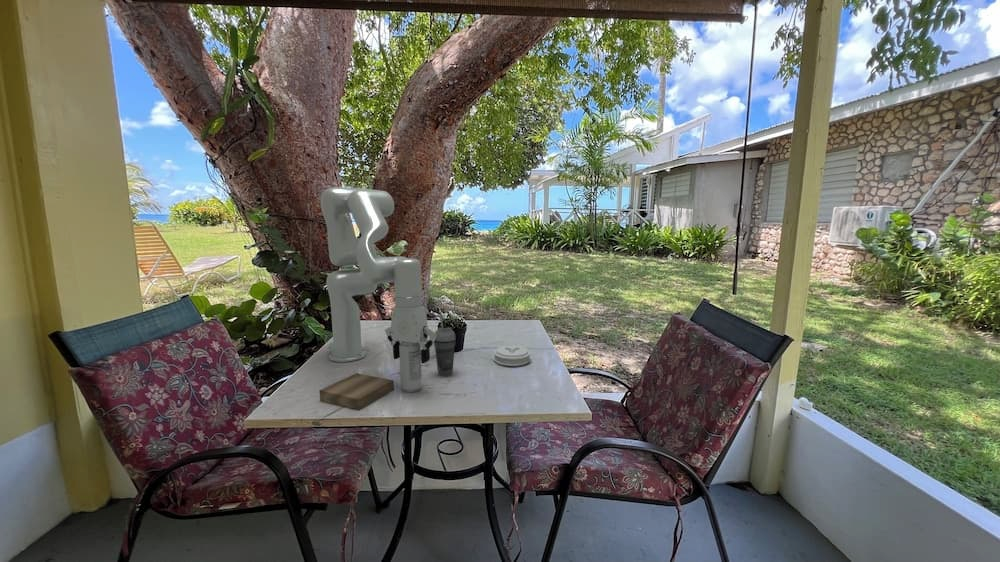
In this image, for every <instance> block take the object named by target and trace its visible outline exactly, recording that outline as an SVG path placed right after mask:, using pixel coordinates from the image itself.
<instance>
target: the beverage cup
mask: <svg viewBox="0 0 1000 562" xmlns="http://www.w3.org/2000/svg"><path fill="white" fill-rule="evenodd" d="M439 317H440V325H441V327H438V329H437V330H436V331H435V332H434V333H436V334H437V337H436V339H435V342H434V343H433V345H434V350H435V351H434V352H435V357H436V358H435V359H436V360H435V361H436V366H437V367H436V368H437V373H438V376H439V377H442V376H443V378H445V377H450V376H453V371H454V359H455V355H454V354H455V347H456V341H457V338H456V337H457V336H456V333H455V331H454V330H453V329H452V328H451V327H449V326H444V324H443V315H442V313H441V312H440V313H439Z"/></svg>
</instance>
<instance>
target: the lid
mask: <svg viewBox="0 0 1000 562" xmlns="http://www.w3.org/2000/svg"><path fill="white" fill-rule="evenodd" d="M493 354H494V358H493V360H494V362H495V363H496V364H498V365H502V366H509V367H511V366H512V367H513V366H514V367H515V366H524V365H526V364H528V363H530V361H531V358H530V355H531V351H530V350H529V349H528V347H527V348H526V347H525V346H521V345H516V344H515V345H509V344H508V345H502V346H499V347H498V348H497V349H495V350H494V352H493Z"/></svg>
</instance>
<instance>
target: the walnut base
mask: <svg viewBox="0 0 1000 562" xmlns="http://www.w3.org/2000/svg"><path fill="white" fill-rule="evenodd" d="M393 391H395V383H394V380H393V379H389V378H382V377H379V376H378V377H377V376H373V375H368V374H364V373H363V374H362V373H358V372H355V373H354V374H352V375H350V376H347V377H344V378H343V379H340V380H338V381H336V382H335V383H332V384H330V385H328V386H326V387H324V388H322V389H319V399H320V402H324V403H328V404H332V405H337V406H342V407H344V406H346V407H345V408H348V407H350V408H349V409H352V408H354V409H353V410H356V409H358V410H357V411H361V410H363V409H364V408H366V407H368V406H370V405H371V404H373V403H374V402H376V401H378V400H379V399H382V398H383V397H385V396H387V395H388V394H390V393H392V392H393ZM362 408H363V409H362ZM360 409H361V410H360Z"/></svg>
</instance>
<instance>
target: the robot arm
mask: <svg viewBox="0 0 1000 562" xmlns="http://www.w3.org/2000/svg"><path fill="white" fill-rule="evenodd" d="M320 208H321V209H320V210H321V212H322V216H323V219H324V220H325V225H326V229H327V233H326V234H327V244H328V256H329V260H330V262H331V264H332V265H334V266H336V267H337V266H338V267H346V266H347V267H348V266H358V268H350V269H349V268H347V269H339V270H335V271H331V272H330V273H329V274H328V275H327V277H326V282H325V283H326V288H327V289H326V290H327V292H328V296H329V302H330V310H331V311H330V313H331V314H330V315H331V325H332V341H331V342H330V343H329V345H327V346H326V348H327V349H328V350H331V353H330V354H329V357H328V358H329V360H331V361H332V362H336V363H349V362H355V361H358V360H361V359H363V358H365V357H366V356H367V350H366V349H364V348H363V347H362V325H361V312H360V311H361V309H360V306H359V304H358V303H357V301H355V299H354V298H353V297H356V296H360V295H367V294H368V295H369V294H371V293H374V292H375V291H376V290H377V288H378V285H381V284H388V283H394V296H393V297H392V301H393V302H394V304H395V305H394V306H393V307H392V312H391V322H390V326H389V327H388V328H386V329H384V331H385V334H386V336H387V340H388V341H389V342H390V346H392V352H393V353H392V354H393V355H392V356H393V359H394V360H397V359H400V351H399V345H400V343H401V342H406V343H419V344H420V346H421V364H425V363H427V362H429V361H430V357H431V355H430V353H431V351H430V348H432V346H433V345H434V342H435V339H436V337H437V334H436V333H435V332H434V331H432V330H431V329H430V328H428V319H427V314H426V313H427V312H426V309H425V306H423V293H422V291H423V289H422V268H421V267H422V265H421V262H420V260H419V259H418V258H410V257H409V258H408V257H406V256H403V255H401V256H400V255H399V256H397V255H396V256H381V257H377V249H376V246H375V244H376V243H377V242H379V241H381V240H382V239H384V238H385V237H386V236H387V235H388V233H389V225H388V223H387V221H386V219H385V217H386V218H387V217H389V216H392V214H393V213H394V210H395V201H394V198H393V197H392V195H391V194H390V193H389V192H388V191H385V190H378V189H372V188H359V187H345V186H342V187H340V186H337V187H336V186H335V187H329V188H327V189H324V191H323V192H322V194H321V197H320ZM346 214H351V215H352V218H353V219H354V221H355V224H356V226H357V229H358V231H359V232H360V235H361V236H360V237H357V238H355V235H354V225H353V222H352V221H351V220H350V218H349V217H348V216H347V215H346ZM374 243H375V244H374ZM428 338H429V340H428Z"/></svg>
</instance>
